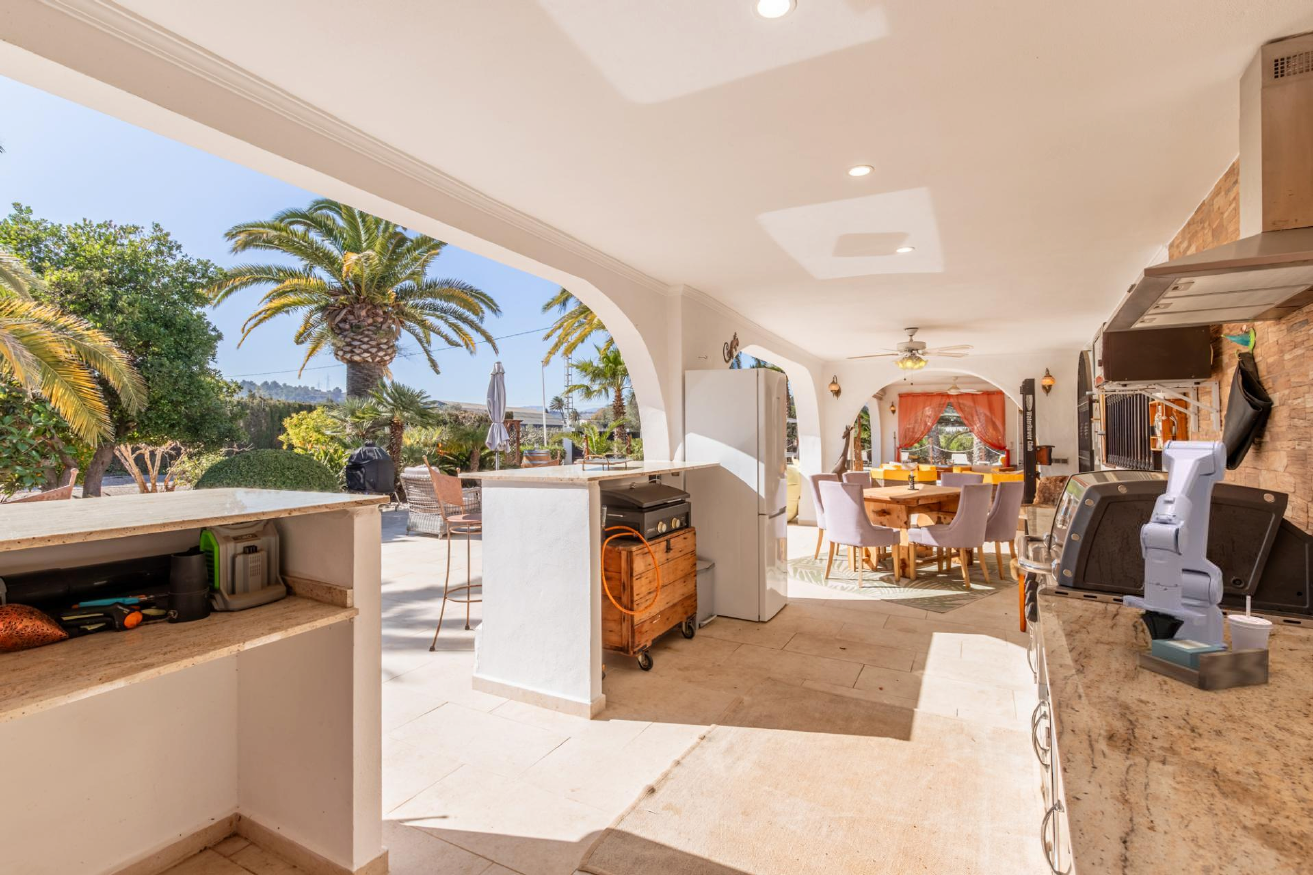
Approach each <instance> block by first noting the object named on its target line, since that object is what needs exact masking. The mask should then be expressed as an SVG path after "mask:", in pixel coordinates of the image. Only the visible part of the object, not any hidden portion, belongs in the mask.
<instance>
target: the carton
mask: <svg viewBox="0 0 1313 875" xmlns="http://www.w3.org/2000/svg"><path fill="white" fill-rule="evenodd" d="M1226 651H1227V648H1225V647H1217V646H1214V645H1211V644H1207V643H1204V642H1201V641H1197V640H1194V639H1191V638H1187V637H1182V638H1171V639H1161V640H1152V639H1151V641H1150V655H1151V656H1154V657H1157V658H1160V659H1163V660H1166V661H1169V662H1172V663H1175V664H1178V665H1181V666H1184V667H1186V668H1189V669H1192V670H1195V671H1198V672H1199V654H1207V653H1216V652H1226Z"/></svg>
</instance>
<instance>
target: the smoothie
mask: <svg viewBox="0 0 1313 875" xmlns="http://www.w3.org/2000/svg"><path fill="white" fill-rule="evenodd" d="M1245 604H1246V605H1245V606H1246V607H1245V608H1246V609H1245V610H1246V611H1245V615H1243V614H1242V615H1241V614H1229V615H1227V616H1226V617H1227V619H1226V622H1228V623H1229V624H1228V625H1229V631H1230V638H1231V645H1232V651H1235V650H1245V649H1254V648H1264V649H1267V647H1268V642H1269V637H1270V631H1271V630H1272V629H1273V628H1274V627H1273V622H1272V621H1270V620H1268V619H1265V618H1261V617H1256V616H1251V596H1250V595H1246V602H1245Z"/></svg>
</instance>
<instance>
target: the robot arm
mask: <svg viewBox="0 0 1313 875" xmlns="http://www.w3.org/2000/svg"><path fill="white" fill-rule="evenodd" d="M1161 450H1162V452H1161V462H1162V464H1163V466H1164V467H1165V469H1166V471H1167V474H1168V480H1167V484H1166V492H1165V493H1163V494H1160V495H1159V496H1158V497H1157V498H1156V502H1155V504H1154V508H1153V511H1152V514H1151V517H1150V519H1149V522H1148V523H1147V524H1146V523H1144V524H1143V525H1142V527H1141V529H1140V546H1141V552H1142V555H1141V556H1142V558H1143V559H1144V598H1143V597H1137V596H1134V595H1123V597H1122V598H1123V599H1122V601H1123V602H1122V605H1123V606H1126V607H1131V608H1134V609H1135V608H1136V609H1139V610H1143V611H1145V612H1143V613H1141V614H1140V619H1142V621H1143V623H1144V625H1145V626H1146V628H1147V630H1148V632H1149V635H1150V638H1151V640H1161V639H1171V638H1182V637H1187V638H1191V639H1194V640H1197V641H1201V642H1204V643H1207V644H1211V645H1214V646H1217V647H1221V648H1227V647H1229V644H1227V643H1224V614H1223V612H1222V610H1221V609H1220V608H1219V606H1218V604H1219V603H1221V602H1222V599H1223V594H1224V583H1223V572H1222V570H1221V569H1220V567H1219V566H1217V565H1216V564H1214V563H1213V562H1211V561H1210V560H1209V559H1208V558H1207V551H1208V550H1207V548H1208V536H1209V522H1210V511H1211V510H1210V509H1211V498H1212V497H1211V496H1212V491H1213V488H1214V485H1215V484H1217V483H1218V482H1219V483H1220V482H1222V481H1224V480H1225V476H1226V470H1227V469H1226V468H1227V457H1228V456H1227V447H1226V444H1225V443H1224V442H1223V441H1221V440H1216V441H1214V440H1213V441H1200V440H1199V441H1197V440H1195V441H1193V440H1172V439H1171V440H1170V439H1168V440H1166V442H1165V443H1163V445H1162V449H1161ZM1186 570H1188V571H1186ZM1192 571H1193V572H1192ZM1194 571H1195V572H1194ZM1200 572H1201V573H1200ZM1206 573H1207V574H1206Z"/></svg>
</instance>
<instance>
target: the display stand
mask: <svg viewBox="0 0 1313 875" xmlns="http://www.w3.org/2000/svg"><path fill="white" fill-rule="evenodd" d="M1269 661H1270V650H1269V649H1267V648H1266V649H1264V648H1254V649H1245V650H1235V651H1233V650H1226V652H1216V653H1207V654H1199V672H1198V671H1195V670H1192V669H1189V668H1186V667H1184V666H1181V665H1178V664H1175V663H1172V662H1169V661H1166V660H1163V659H1160V658H1157V657H1154V656H1151V654H1148V653H1145V652H1140V653H1139V654H1138V667H1140V668H1143V669H1145V670H1148V671H1151V672H1153V671H1154V673H1156V674H1159V675H1162V676H1165V677H1168V678H1170V679H1172V680H1176V681H1179V682H1182V683H1184V684H1187V685H1190V686H1192V687H1194V688H1198V689H1200V690H1203V691H1213V690H1220V689H1221V690H1222V689H1229V688H1237V687H1245V686H1253V685H1260V684H1268V683H1269V671H1270V670H1269V667H1270V666H1269V663H1270V662H1269Z"/></svg>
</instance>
